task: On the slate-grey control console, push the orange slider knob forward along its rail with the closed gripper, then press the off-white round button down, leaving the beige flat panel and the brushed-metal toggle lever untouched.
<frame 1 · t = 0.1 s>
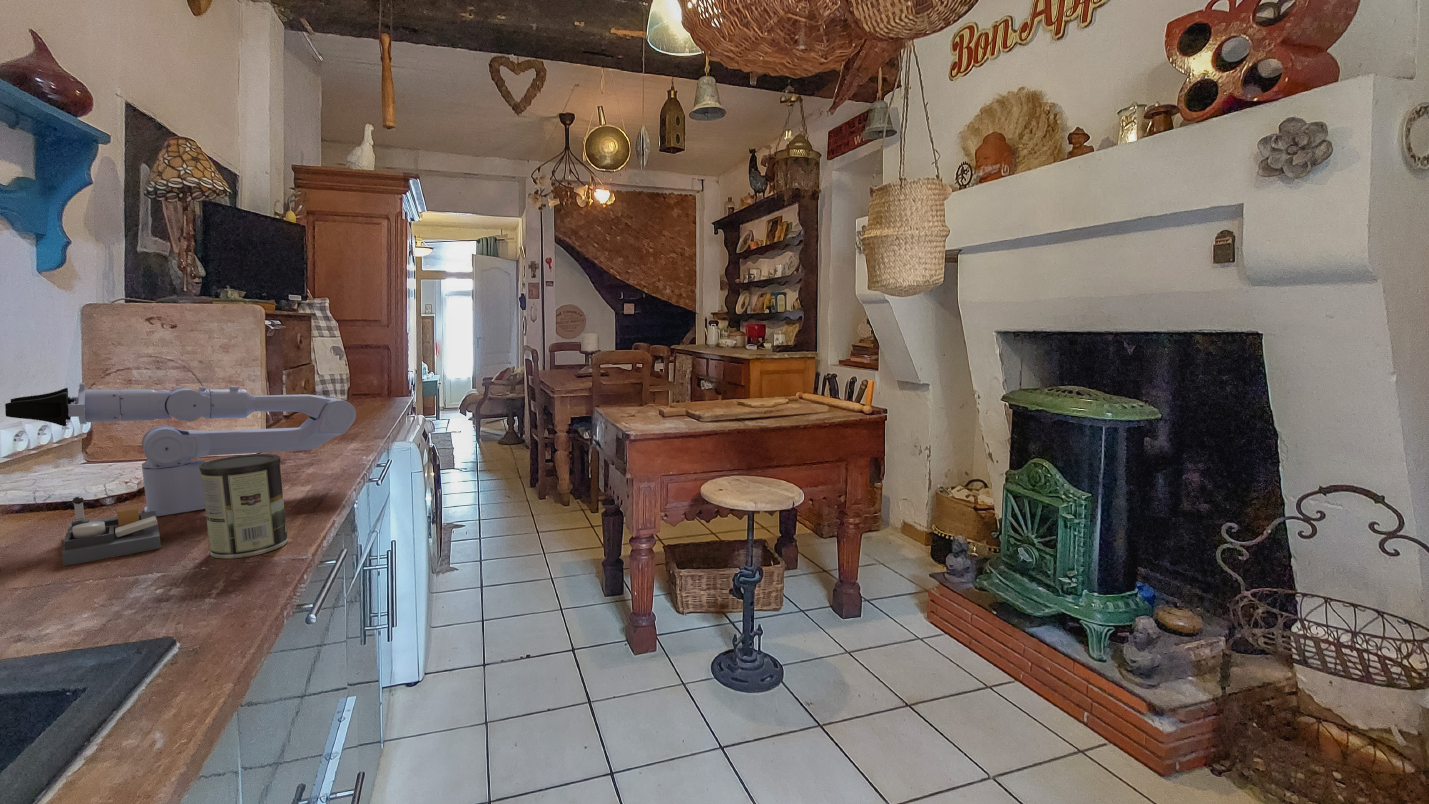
hand: (8, 407, 108), 22 cm above the countertop, tool horizontal, fingers open, 7 cm apart
console: (114, 541, 106), on the countertop
slider: (128, 516, 108), point 4 cm above the countertop, slide at 0.0 cm
button: (89, 529, 100), point 4 cm above the countertop, slide at 0.0 cm
coffee can: (249, 548, 104), on the countertop
lever: (78, 507, 108), point 5 cm above the countertop, hinge at 20.0°
beige flat panel: (136, 526, 104), point 3 cm above the countertop, hinge at 12.0°
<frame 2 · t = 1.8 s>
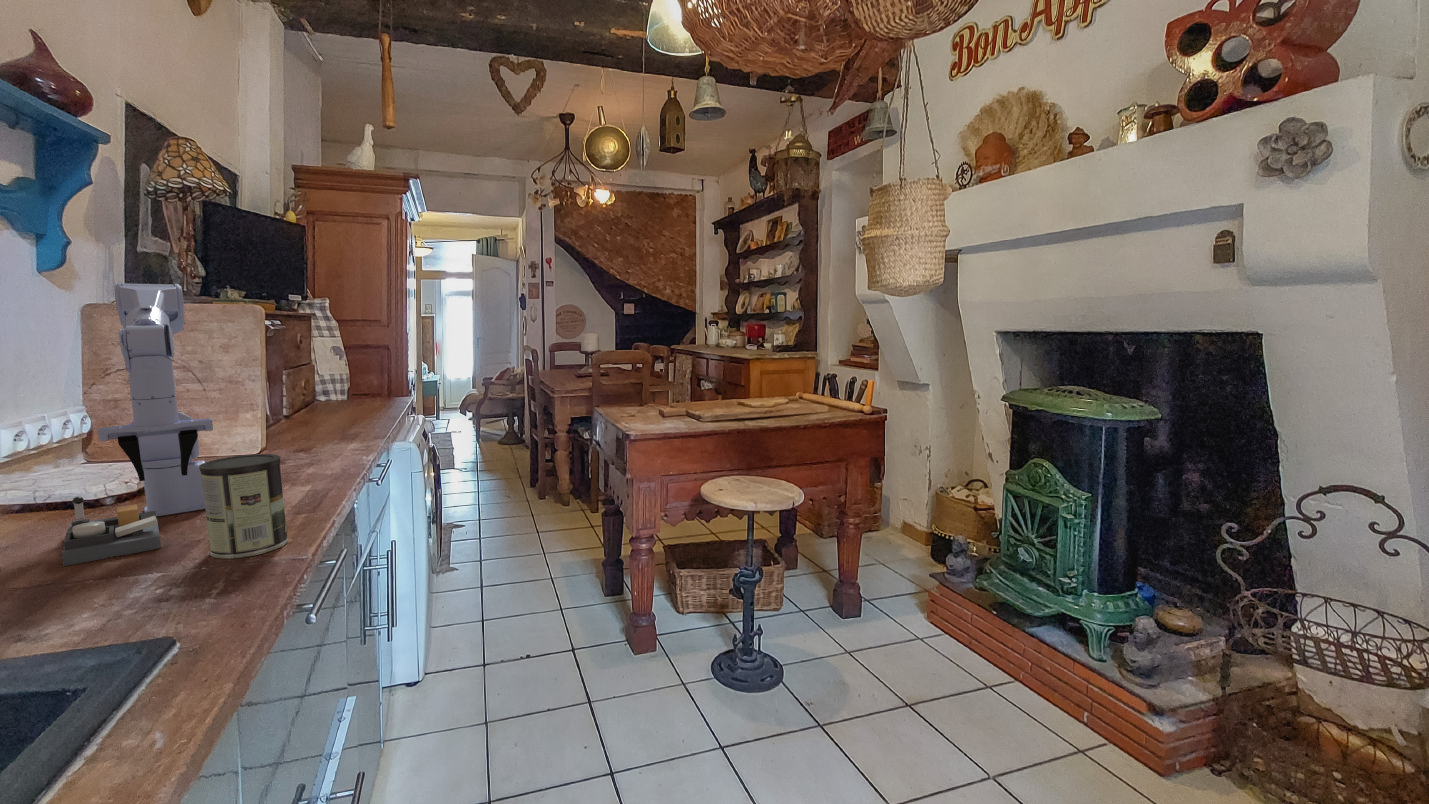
hand: (163, 477, 110), 9 cm above the countertop, tool pointing down, fingers open, 5 cm apart
nothing on the countertop moved.
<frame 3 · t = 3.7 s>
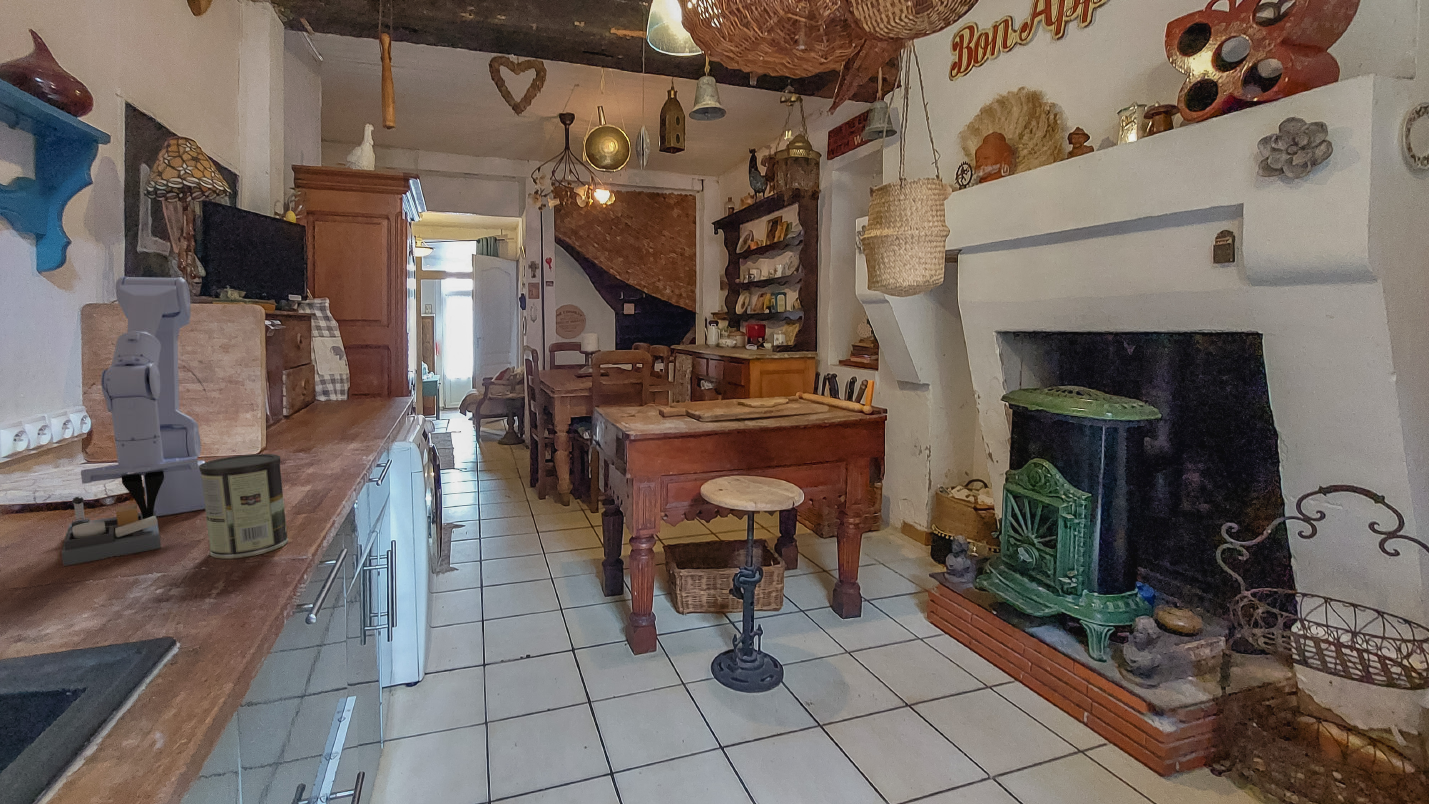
hand: (148, 517, 109), 3 cm above the countertop, tool pointing down, fingers closed
slider: (127, 516, 108), point 4 cm above the countertop, slide at 0.1 cm, touching gripper
everything else where it was.
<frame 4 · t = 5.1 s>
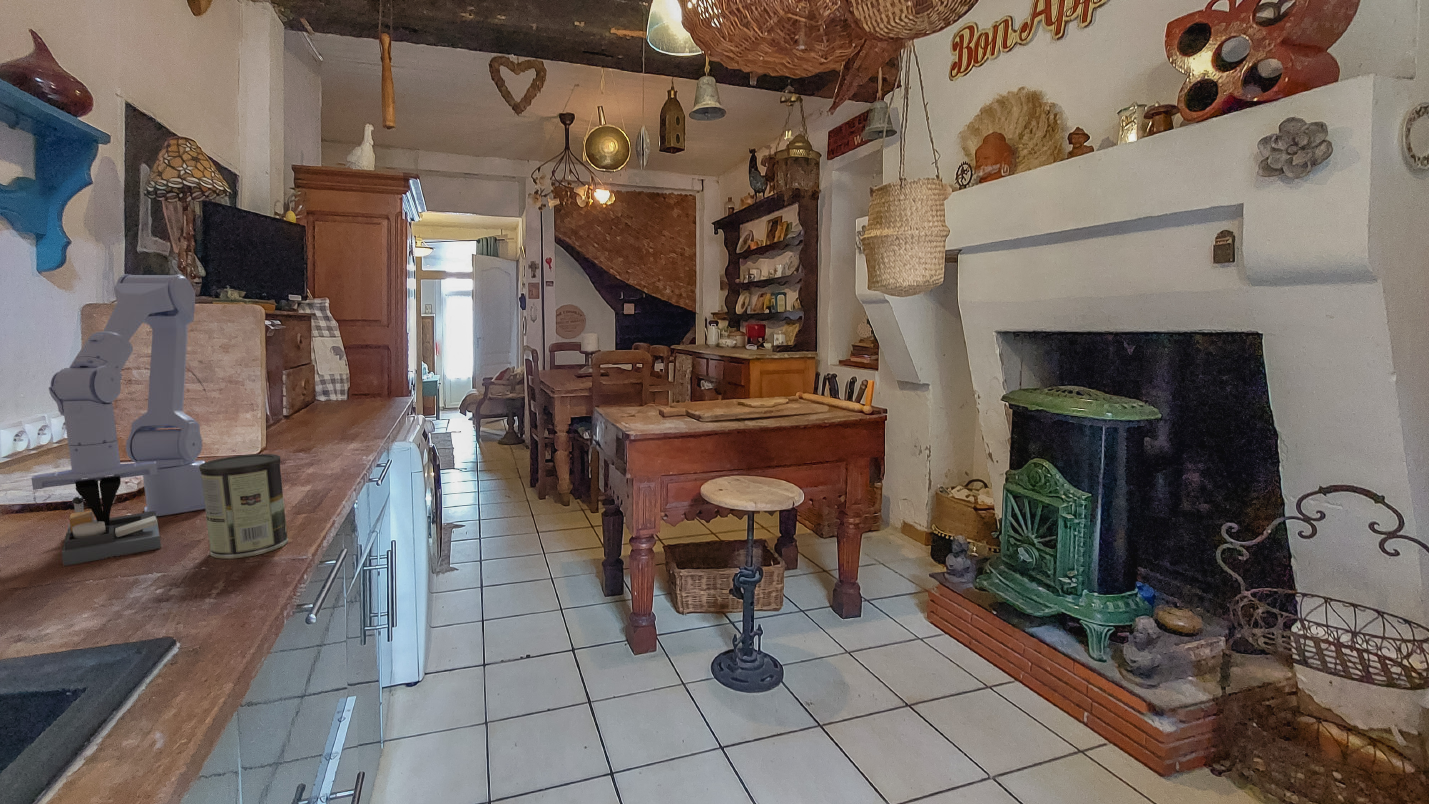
hand: (104, 524, 106), 3 cm above the countertop, tool pointing down, fingers closed
slider: (82, 523, 104), point 4 cm above the countertop, slide at 5.5 cm, touching gripper
everything else where it was.
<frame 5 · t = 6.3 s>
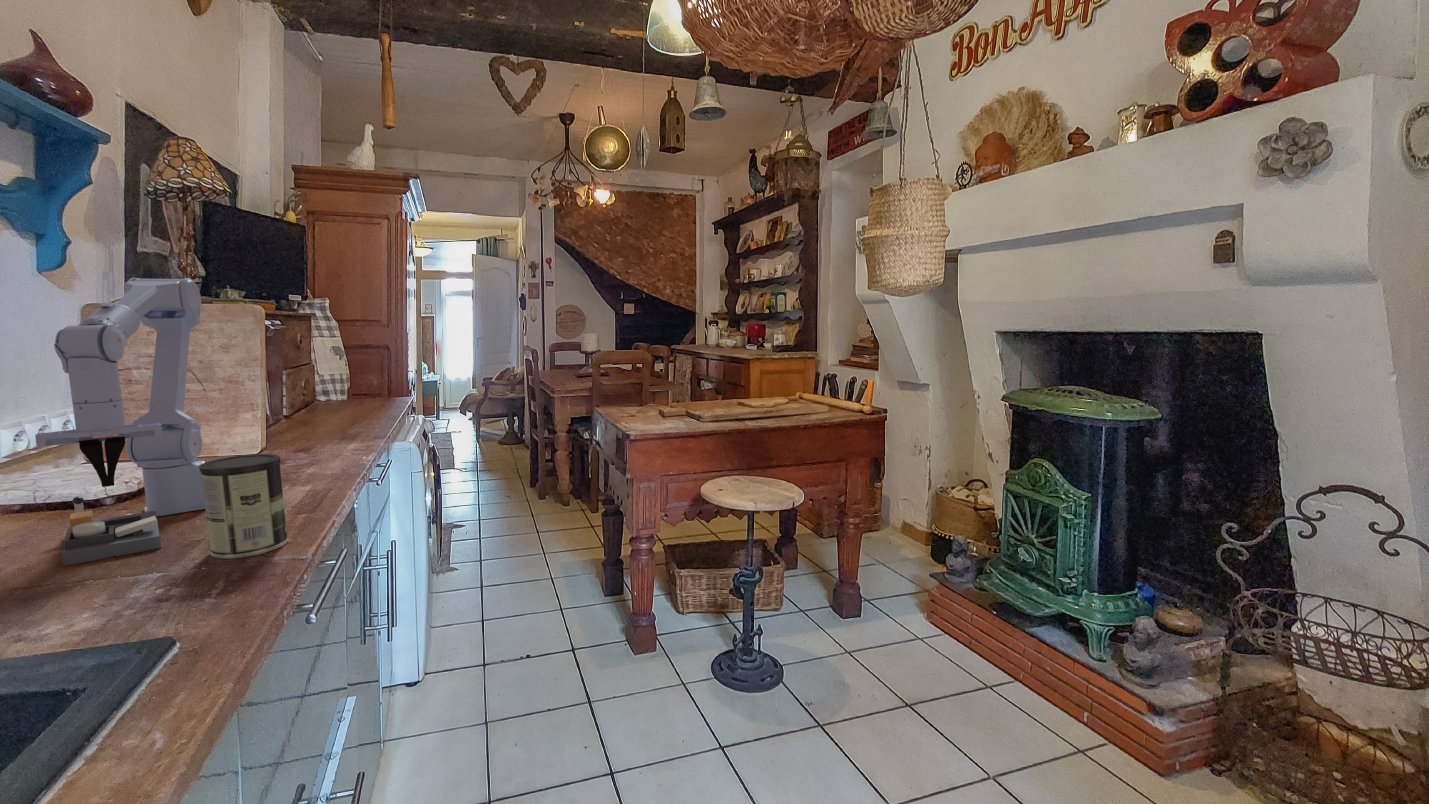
hand: (108, 485, 105), 10 cm above the countertop, tool pointing down, fingers closed
slider: (82, 523, 104), point 4 cm above the countertop, slide at 5.5 cm
everything else where it was.
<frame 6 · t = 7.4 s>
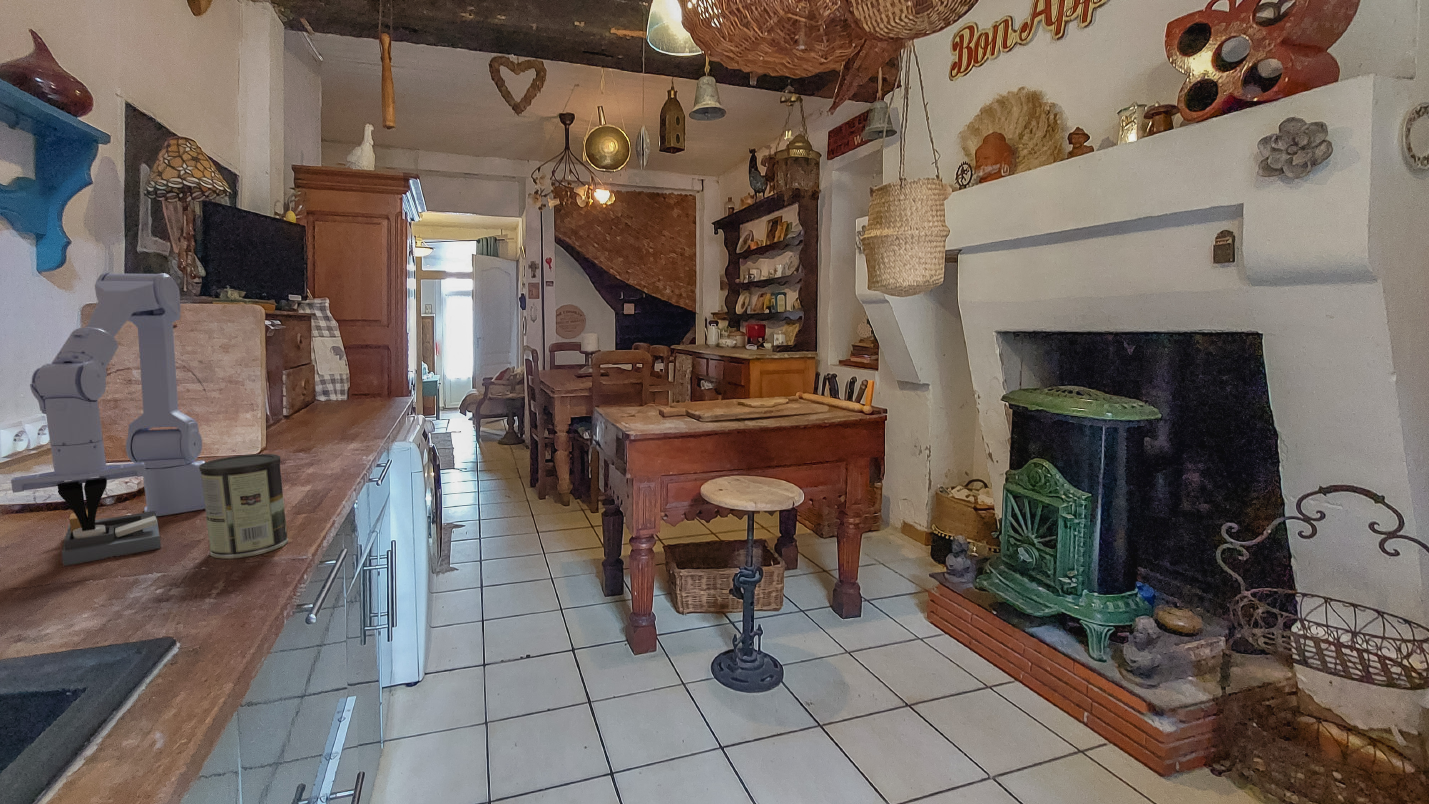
hand: (89, 528, 100), 4 cm above the countertop, tool pointing down, fingers closed, pressing on button
button: (89, 533, 100), point 3 cm above the countertop, slide at 0.6 cm, touching gripper
everything else where it was.
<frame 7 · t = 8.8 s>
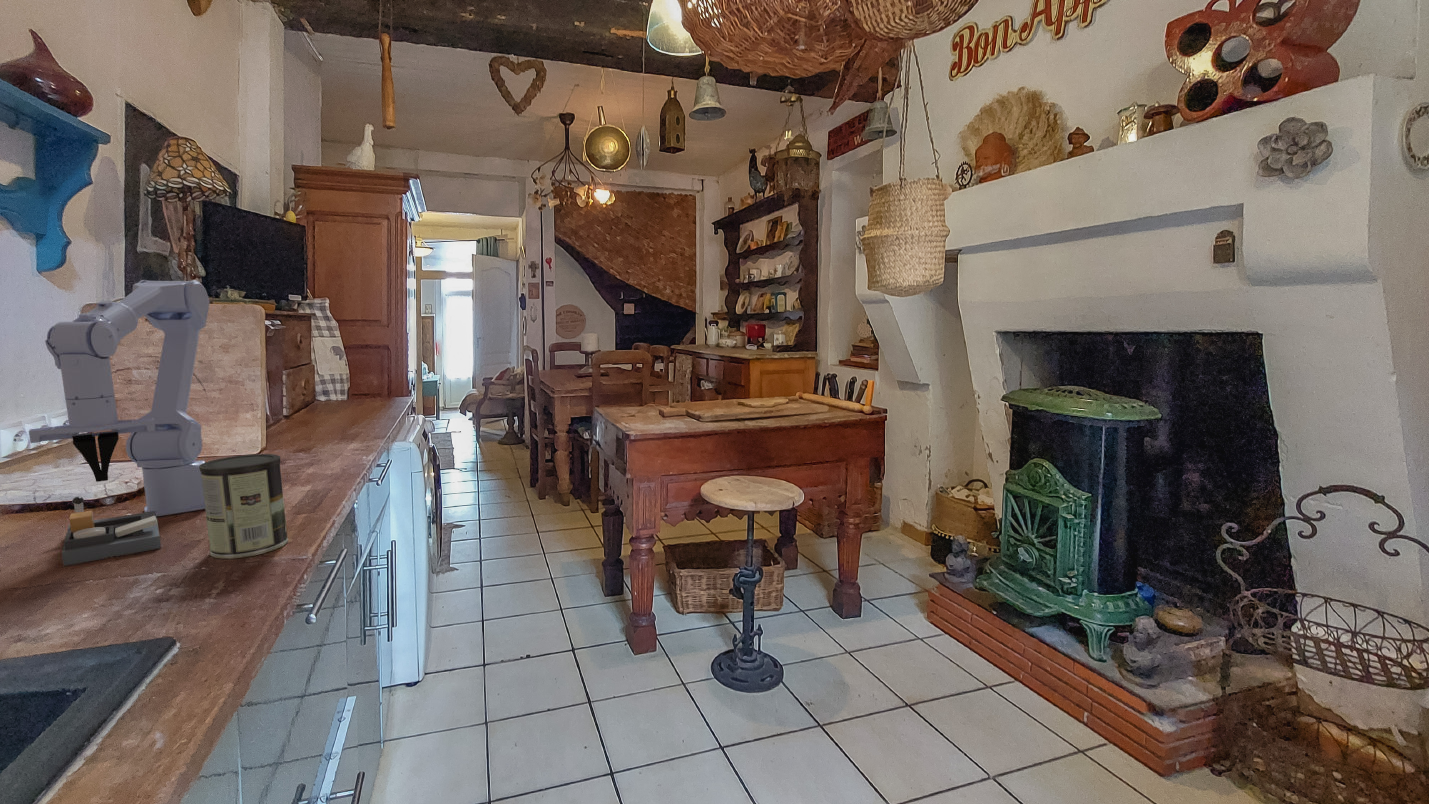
hand: (102, 480, 106), 10 cm above the countertop, tool pointing down, fingers closed
button: (90, 535, 100), point 3 cm above the countertop, slide at 0.9 cm
everything else where it was.
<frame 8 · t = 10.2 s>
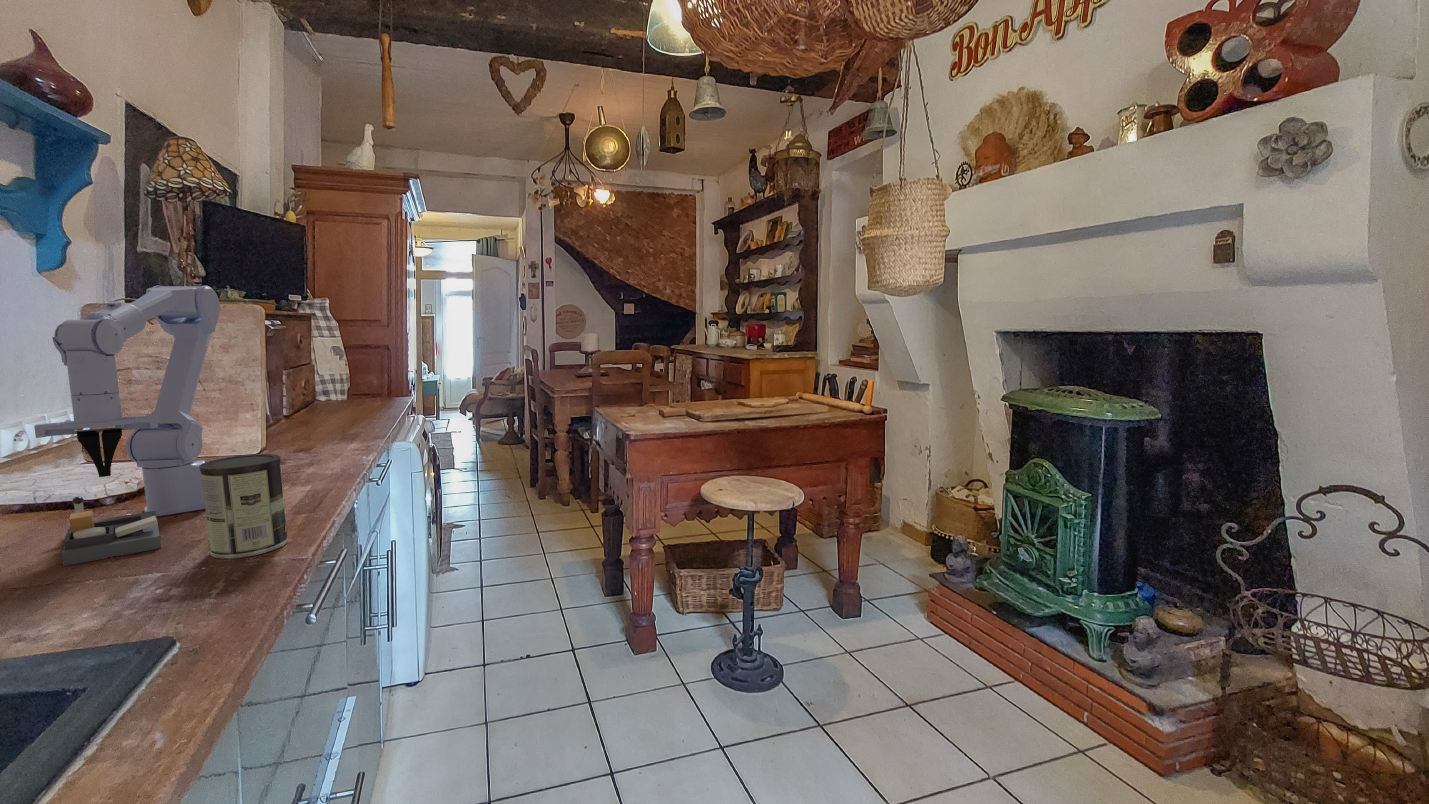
hand: (105, 475, 107), 10 cm above the countertop, tool pointing down, fingers closed
nothing on the countertop moved.
at the end: slider slide at 5.5 cm; button slide at 0.9 cm; beige flat panel at +12° (first picture: +12°) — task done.
